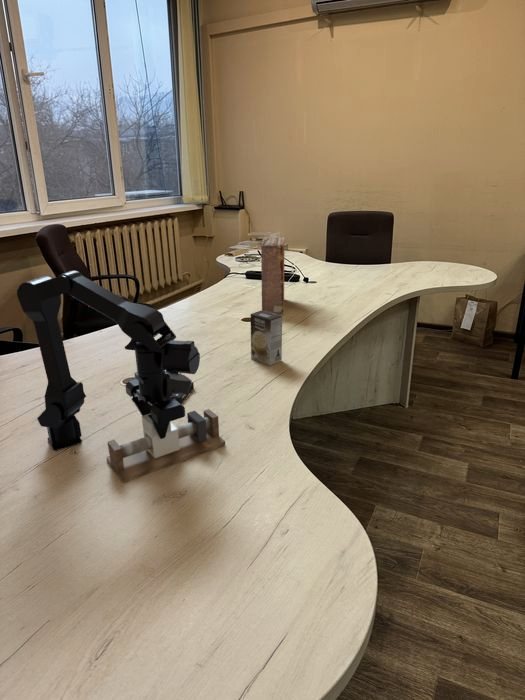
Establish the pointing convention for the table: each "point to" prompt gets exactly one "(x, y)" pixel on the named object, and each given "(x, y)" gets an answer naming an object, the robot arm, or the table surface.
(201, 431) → the dark square collar
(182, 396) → the disk drive
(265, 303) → the book
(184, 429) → the pipe rig
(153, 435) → the sleeve
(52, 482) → the table surface
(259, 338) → the coffee box
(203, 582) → the table surface
